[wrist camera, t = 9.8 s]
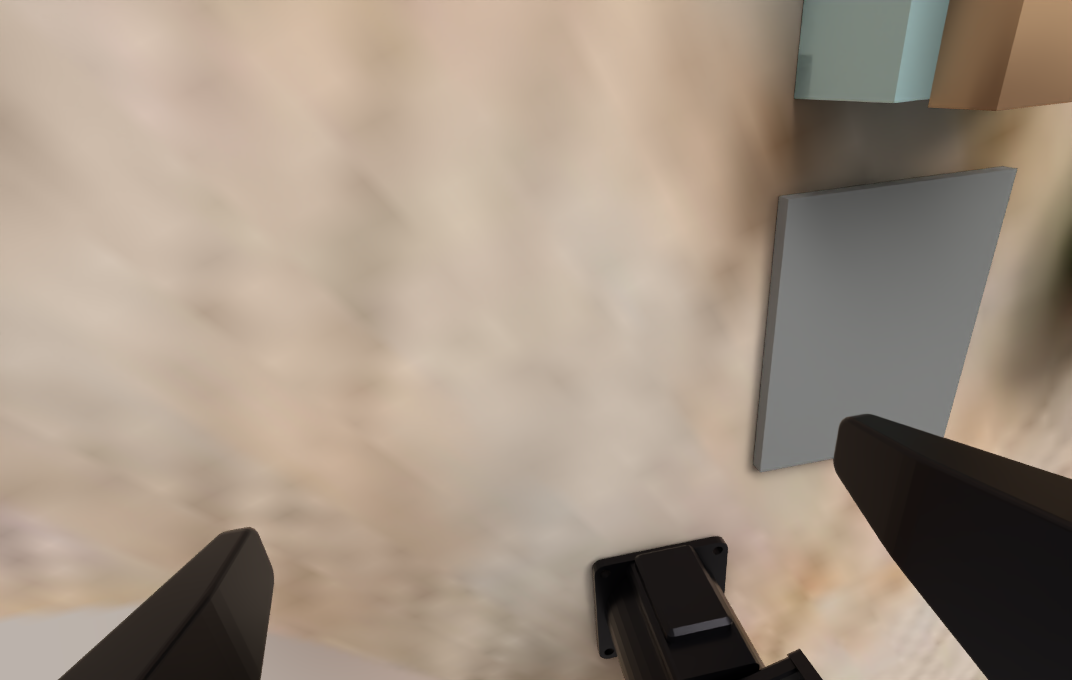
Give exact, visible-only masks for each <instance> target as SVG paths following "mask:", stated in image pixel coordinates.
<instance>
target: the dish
mask: <svg viewBox="0 0 1072 680" xmlns="http://www.w3.org/2000/svg"><path fill="white" fill-rule="evenodd" d="M948 5H949V0H804V4H803V14H802V24H801V34H800V44H799V54H798V64H797V74H796V84H795V94H794V99H812V100H835V101H858V102H881V103H899V102H907V101H916V100H925V99H930V94H931V89H932V84H933V80H934V75H935V70H936V65H937V60H938V55H939V50H940V45H941V40H942V35H943V30H944V25H945V20H946V15H947V10H948Z"/></svg>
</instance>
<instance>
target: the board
mask: <svg viewBox="0 0 1072 680" xmlns="http://www.w3.org/2000/svg"><path fill="white" fill-rule="evenodd" d="M1067 102H1072V0H949V5H948V10H947V15H946V20H945V25H944V30H943V35H942V40H941V45H940V50H939V55H938V60H937V65H936V70H935V75H934V80H933V84H932V89H931V94H930V99H929V104H928V107H931V108H951V109H971V110H991V111H998V110H1007V109H1016V108H1024V107H1033V106H1041V105H1050V104H1059V103H1067Z"/></svg>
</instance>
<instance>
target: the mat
mask: <svg viewBox="0 0 1072 680" xmlns="http://www.w3.org/2000/svg"><path fill="white" fill-rule="evenodd" d="M1016 172H1017V168H1011V167H1004V166H1001V167H993V168H986V169H978V170H971V171H963V172H956V173H948V174H941V175H934V176H926V177H919V178H911V179H904V180H896V181H889V182H881V183H874V184H866V185H859V186H851V187H844V188H836V189H829V190H821V191H814V192H806V193H799V194H791V195H784V196H779V202H778V212H777V222H776V233H775V243H774V253H773V264H772V274H771V284H770V295H769V305H768V315H767V326H766V336H765V346H764V357H763V367H762V377H761V388H760V398H759V408H758V419H757V429H756V439H755V450H754V460H753V465H754V466H755V467H756V468H757V469H758V471H759V472H765V471H770V470H775V469H781V468H786V467H791V466H796V465H802V464H807V463H812V462H817V461H822V460H828V459H833V457H834V451H835V445H836V440H837V434H838V428H839V424H840V422H841V421H842V420H843V419H844V418H846V417H849V416H855V415H860V414H873V415H876V416H879V417H882V418H885V419H888V420H891V421H894V422H897V423H901V424H904V425H907V426H910V427H913V428H916V429H919V430H922V431H925V432H928V433H931V434H934V435H937V436H940V437H944V434H945V430H946V427H947V423H948V419H949V416H950V412H951V408H952V405H953V401H954V397H955V394H956V390H957V387H958V383H959V379H960V376H961V372H962V368H963V365H964V361H965V357H966V354H967V350H968V347H969V343H970V339H971V336H972V332H973V328H974V325H975V321H976V317H977V314H978V310H979V306H980V303H981V299H982V296H983V292H984V288H985V285H986V281H987V277H988V274H989V270H990V266H991V263H992V259H993V256H994V252H995V248H996V245H997V241H998V237H999V234H1000V230H1001V226H1002V223H1003V219H1004V215H1005V212H1006V208H1007V205H1008V201H1009V197H1010V194H1011V190H1012V186H1013V183H1014V179H1015V175H1016Z"/></svg>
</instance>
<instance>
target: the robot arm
mask: <svg viewBox="0 0 1072 680" xmlns="http://www.w3.org/2000/svg"><path fill="white" fill-rule="evenodd" d="M833 462H834V468H835V471H836V473H837V475H838V477H839V478H840V480H841V481H842V483H843V484H844V486H845V487H846V489H847V490H848V492H849V493H850V495H851V497H852V498H853V500H854V501H855V503H856V504H857V506H858V507H859V509H860V510H861V512H862V513H863V515H864V516H865V518H866V520H867V521H868V523H869V524H870V526H871V527H872V529H873V530H874V532H875V533H876V535H877V536H878V538H879V540H880V541H881V543H882V544H883V545H884V547H885V548H886V550H887V551H888V553H889V554H890V556H891V557H892V558H893V560H894V561H895V562H896V564H897V565H898V566H899V568H900V569H901V570H902V572H903V573H904V574H905V575H906V577H907V578H908V579H909V580H910V582H911V583H912V584H913V585H914V587H915V588H916V589H917V591H918V592H919V593H920V594H921V596H922V597H923V598H924V599H925V601H926V602H927V603H928V604H929V606H930V607H931V608H932V609H933V611H934V612H935V613H936V614H937V616H938V617H939V618H940V620H941V621H942V622H943V623H944V625H945V626H946V627H947V628H948V630H949V631H950V632H951V633H952V635H953V636H954V637H955V638H956V640H957V641H958V642H959V643H960V645H961V646H962V647H963V648H964V650H965V651H966V652H967V654H968V655H969V656H970V657H971V659H972V660H973V661H974V662H975V664H976V665H977V666H978V667H979V669H980V670H981V671H982V672H983V674H984V675H985V676H986V677H987V679H988V680H1072V479H1069V478H1066V477H1063V476H1060V475H1057V474H1054V473H1051V472H1048V471H1045V470H1042V469H1039V468H1036V467H1032V466H1029V465H1026V464H1023V463H1020V462H1017V461H1014V460H1011V459H1008V458H1005V457H1002V456H999V455H996V454H993V453H989V452H986V451H983V450H980V449H977V448H974V447H971V446H968V445H965V444H962V443H959V442H956V441H953V440H950V439H947V438H943V437H940V436H937V435H934V434H931V433H928V432H925V431H922V430H919V429H916V428H913V427H910V426H907V425H904V424H901V423H897V422H894V421H891V420H888V419H885V418H882V417H879V416H876V415H873V414H860V415H855V416H849V417H846V418H844V419H843V420H842V421H841V422H840V424H839V428H838V434H837V440H836V445H835V451H834V457H833ZM727 553H728V547H727V544H726V543H725V541H724V540H723V539H722V537H719V536H715V537H710V538H705V539H700V540H695V541H690V542H685V543H680V544H675V545H670V546H665V547H660V548H655V549H651V550H646V551H641V552H636V553H631V554H626V555H621V556H616V557H611V558H606V559H602V560H599V561H597V562H596V563H595V564H594V565H593V568H592V573H593V588H594V603H595V618H596V633H597V647H598V651H599V654H600V656H601V657H602V658H605V659H608V658H613V657H618V660H619V663H620V666H621V669H622V672H623V675H624V678H625V680H823V679H822V678H821V677H820V675H819V674H818V673H817V671H816V670H815V669H814V667H813V666H812V665H811V663H810V662H809V660H808V659H807V658H806V656H805V655H804V654H803V652H802V651H801V650H800V649H798V650H796V651H794V652H791V653H789V654H787V655H788V657H787V658H785V659H782V660H780V661H778V662H776V663H773V664H771V665H769V666H767V667H765V665H764V664H763V662H762V660H761V658H760V657H759V655H758V653H757V651H756V650H755V648H754V646H753V644H752V643H751V641H750V639H749V637H748V636H747V634H746V632H745V630H744V629H743V627H742V625H741V623H740V621H739V620H738V618H737V616H736V614H735V613H734V611H733V609H732V607H731V606H730V604H729V602H728V600H727V599H726V597H725V595H724V591H725V579H726V566H727ZM603 570H604V571H603ZM273 587H274V573H273V568H272V565H271V563H270V560H269V558H268V556H267V553H266V551H265V548H264V546H263V544H262V541H261V539H260V536H259V534H258V532H257V531H256V530H255V529H254V528H251V527H246V528H241V529H235V530H230V531H225V532H223V533H221V534H219V535H218V536H217V537H216V538H215V539H214V540H212V541H211V542H210V543H209V544H208V545H207V546H206V547H205V548H204V549H202V550H201V551H200V552H199V553H198V554H197V555H196V556H195V557H194V558H192V559H191V560H190V561H189V562H188V563H187V564H186V565H185V566H184V567H182V568H181V569H180V570H179V571H178V572H177V573H176V574H175V575H174V576H172V577H171V578H170V579H169V580H168V581H167V582H166V583H165V584H164V585H163V586H161V587H160V588H159V589H158V590H157V591H156V592H155V593H154V594H153V595H151V596H150V597H149V598H148V599H147V600H146V601H145V602H144V603H143V604H141V605H140V606H139V607H138V608H137V609H136V610H135V611H134V612H133V613H131V614H130V615H129V616H128V617H127V618H126V619H125V620H124V621H123V622H121V624H119V625H118V626H117V627H116V628H115V629H114V630H113V631H112V632H110V633H109V634H108V635H107V636H106V637H105V638H104V639H103V640H102V641H100V642H99V643H98V644H97V645H96V646H95V647H94V648H93V649H92V650H91V651H89V652H88V653H87V654H86V655H85V656H84V657H83V658H82V659H80V660H79V661H78V662H77V663H76V664H75V665H74V666H73V667H72V668H71V669H70V670H68V671H67V672H66V673H65V674H64V675H63V676H62V677H61V678H59V679H58V680H260V678H261V673H262V665H263V658H264V651H265V644H266V637H267V630H268V623H269V616H270V609H271V602H272V595H273Z"/></svg>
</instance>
